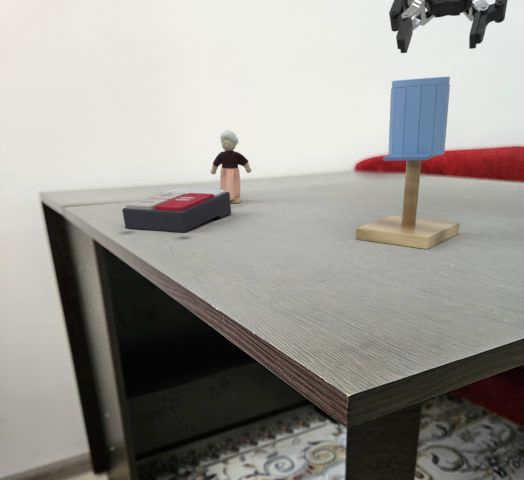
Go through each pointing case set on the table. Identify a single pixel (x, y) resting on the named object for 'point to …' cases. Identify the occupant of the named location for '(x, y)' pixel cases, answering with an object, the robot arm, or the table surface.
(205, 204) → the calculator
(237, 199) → the grandmother figurine
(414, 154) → the blue ribbed waste bin
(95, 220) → the table surface
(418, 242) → the hat stand
